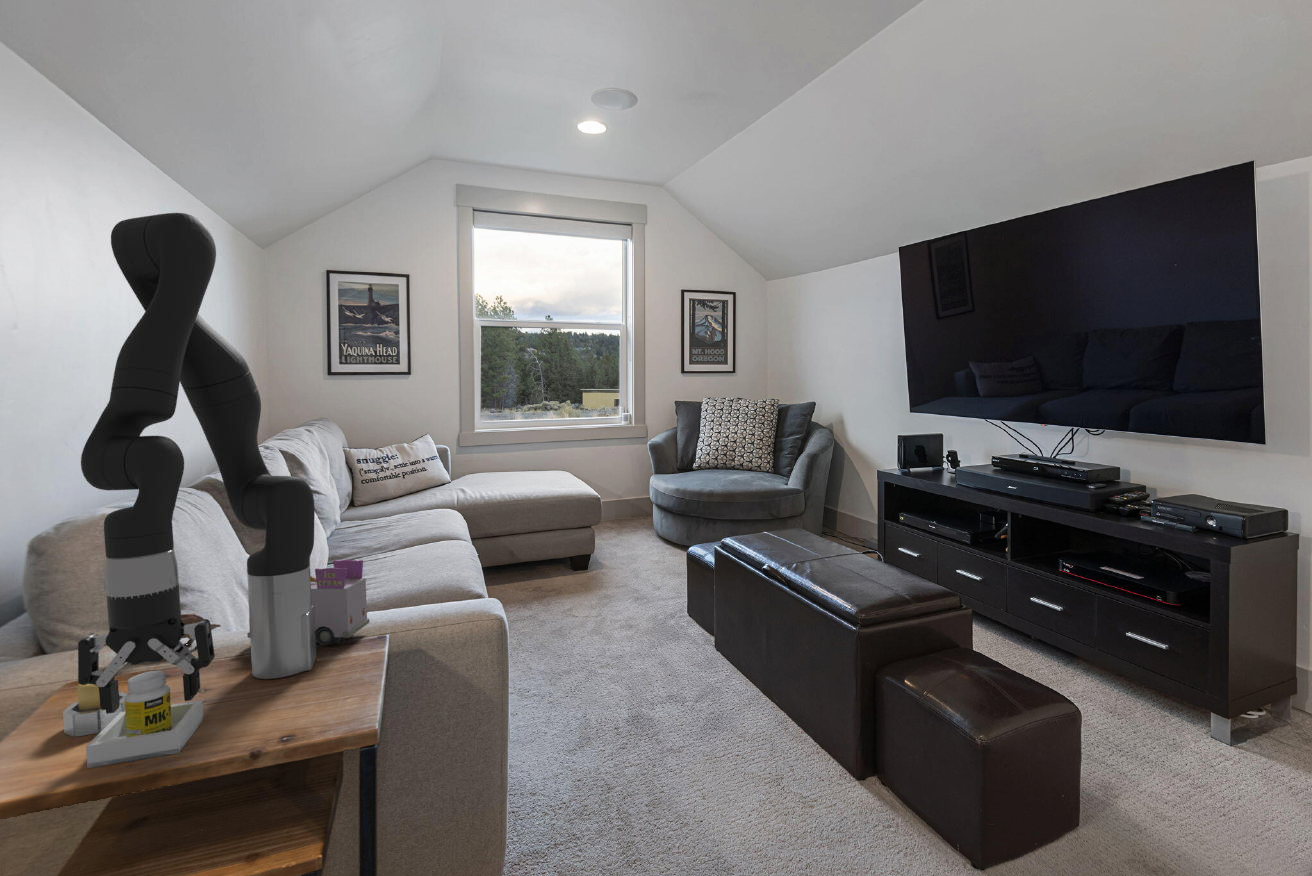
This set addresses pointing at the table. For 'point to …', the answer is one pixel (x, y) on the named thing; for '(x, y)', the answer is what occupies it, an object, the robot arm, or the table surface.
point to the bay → (144, 738)
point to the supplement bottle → (148, 704)
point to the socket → (89, 718)
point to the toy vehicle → (338, 601)
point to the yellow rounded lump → (88, 696)
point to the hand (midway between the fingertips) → (152, 704)
